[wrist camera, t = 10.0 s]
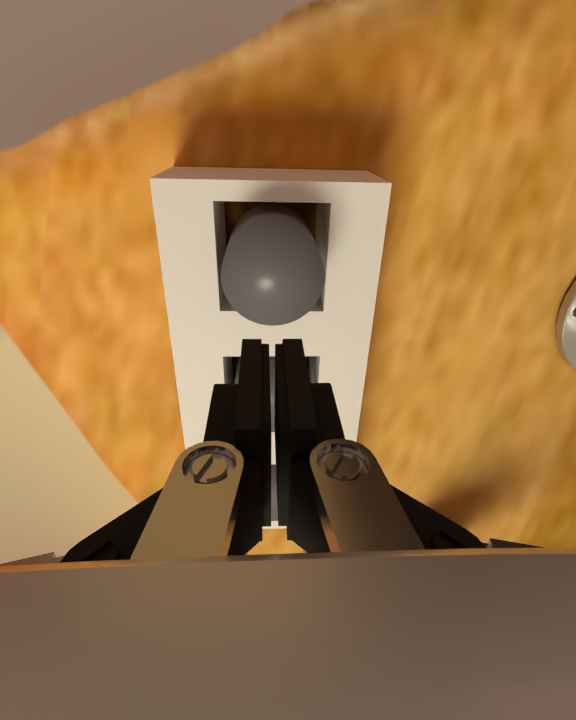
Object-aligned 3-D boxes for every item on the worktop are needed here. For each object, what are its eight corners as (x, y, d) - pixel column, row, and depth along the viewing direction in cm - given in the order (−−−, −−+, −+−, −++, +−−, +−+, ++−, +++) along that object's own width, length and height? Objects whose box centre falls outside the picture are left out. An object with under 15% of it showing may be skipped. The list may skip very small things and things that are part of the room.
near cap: (315, 204, 24) (328, 225, 19) (311, 288, 26) (321, 325, 21) (227, 202, 23) (217, 224, 19) (231, 287, 26) (223, 325, 21)
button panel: (366, 170, 26) (392, 183, 21) (334, 472, 39) (344, 526, 34) (173, 166, 25) (149, 178, 20) (205, 474, 38) (196, 530, 33)
